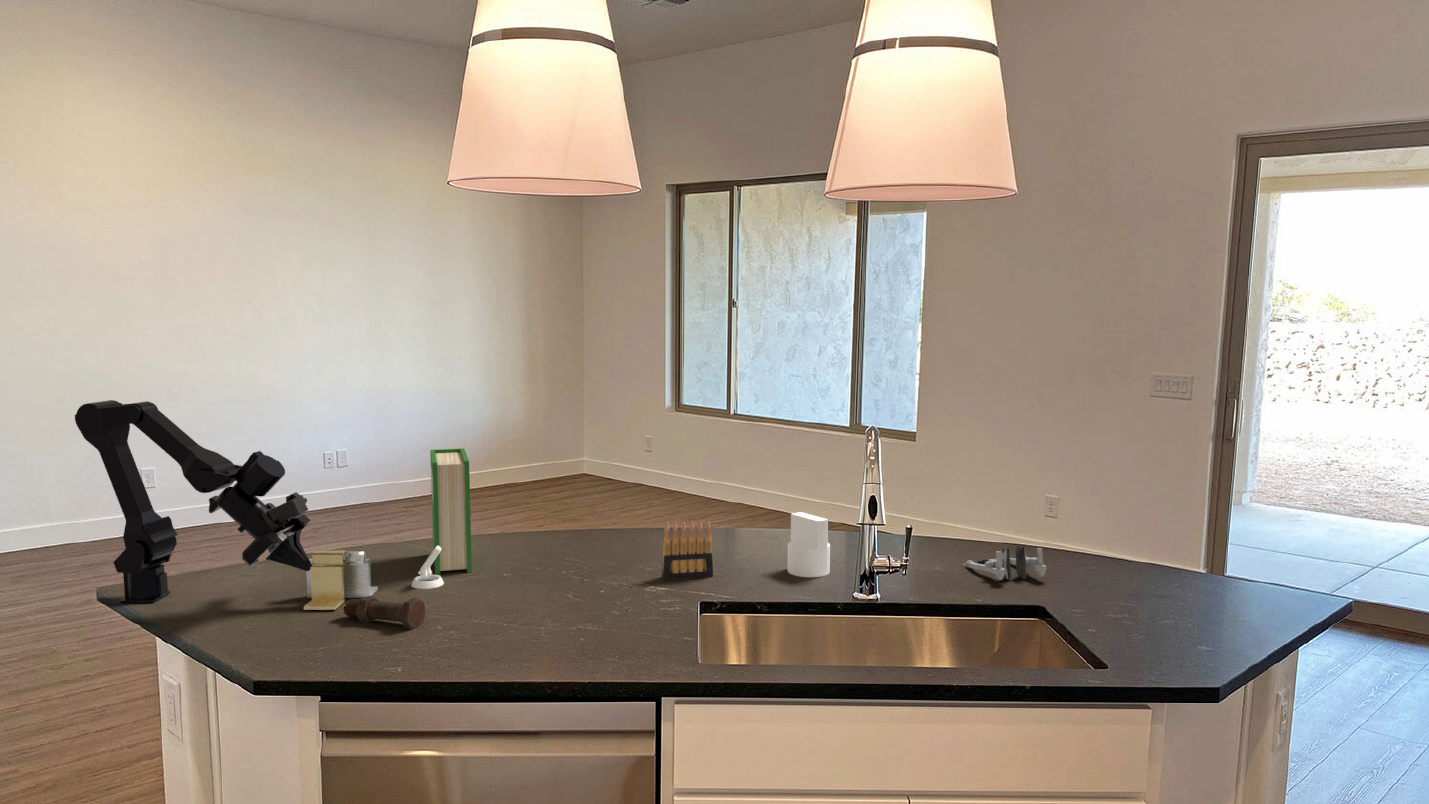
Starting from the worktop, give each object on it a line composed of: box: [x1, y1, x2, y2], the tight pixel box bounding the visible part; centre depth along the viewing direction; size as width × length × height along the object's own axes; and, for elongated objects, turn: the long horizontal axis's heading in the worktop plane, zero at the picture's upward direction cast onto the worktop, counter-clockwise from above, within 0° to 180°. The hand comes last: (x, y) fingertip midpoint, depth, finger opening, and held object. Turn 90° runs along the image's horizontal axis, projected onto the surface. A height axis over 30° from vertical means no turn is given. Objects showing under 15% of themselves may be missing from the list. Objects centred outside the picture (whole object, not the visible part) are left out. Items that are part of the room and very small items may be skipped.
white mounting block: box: [305, 550, 379, 599], centre depth 192 cm, size 12×8×10 cm
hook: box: [411, 545, 445, 590], centre depth 200 cm, size 6×10×6 cm
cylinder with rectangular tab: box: [787, 511, 831, 578], centre depth 211 cm, size 9×9×12 cm
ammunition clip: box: [661, 519, 714, 581], centre depth 206 cm, size 11×2×12 cm, turn 102°
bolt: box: [343, 595, 426, 630], centre depth 177 cm, size 6×5×15 cm
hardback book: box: [429, 448, 473, 576], centre depth 215 cm, size 18×7×24 cm, turn 17°
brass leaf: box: [303, 549, 348, 611], centre depth 186 cm, size 6×7×10 cm
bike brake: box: [962, 545, 1047, 581], centre depth 212 cm, size 14×7×20 cm
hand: (310, 569), depth 187 cm, fingers closed, pressing on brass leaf
